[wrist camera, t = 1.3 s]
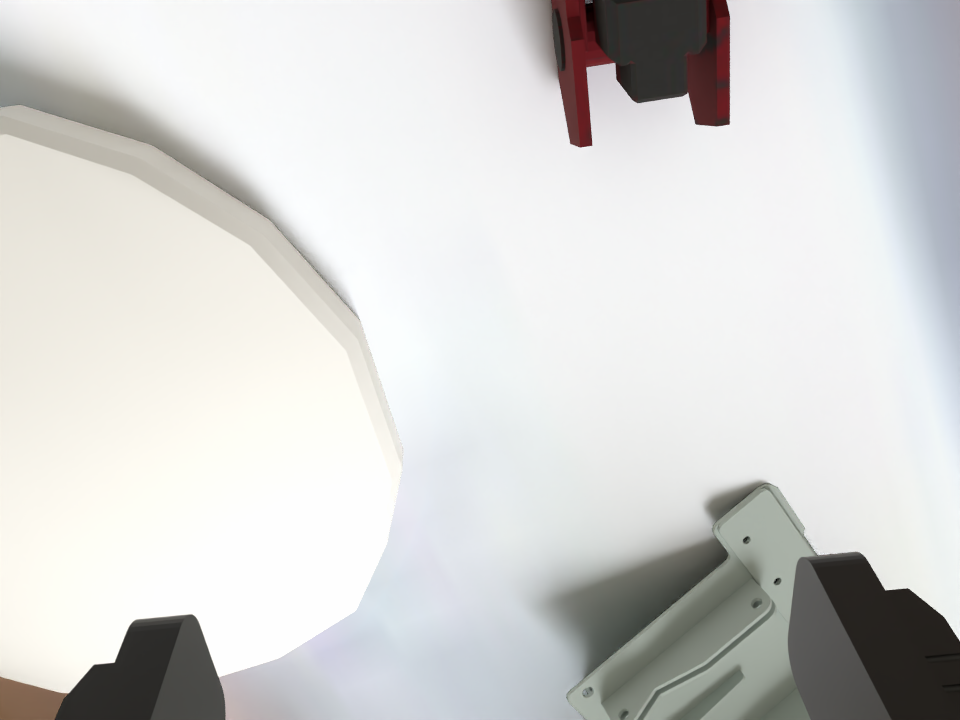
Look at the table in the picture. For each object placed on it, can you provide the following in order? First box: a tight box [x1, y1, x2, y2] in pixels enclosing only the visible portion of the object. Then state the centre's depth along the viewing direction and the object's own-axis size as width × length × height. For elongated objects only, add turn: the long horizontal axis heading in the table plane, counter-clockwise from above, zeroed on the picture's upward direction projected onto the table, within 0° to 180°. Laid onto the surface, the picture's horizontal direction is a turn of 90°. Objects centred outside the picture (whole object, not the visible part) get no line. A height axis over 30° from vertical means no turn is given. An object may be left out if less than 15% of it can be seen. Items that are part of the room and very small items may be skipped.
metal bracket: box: [566, 484, 817, 720], centre depth 41 cm, size 14×6×15 cm
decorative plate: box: [0, 105, 403, 693], centre depth 33 cm, size 25×4×25 cm
